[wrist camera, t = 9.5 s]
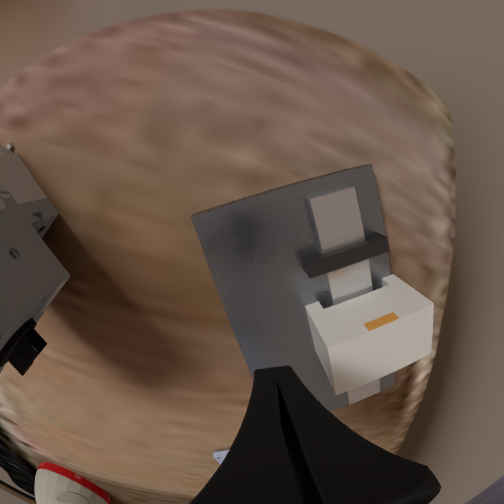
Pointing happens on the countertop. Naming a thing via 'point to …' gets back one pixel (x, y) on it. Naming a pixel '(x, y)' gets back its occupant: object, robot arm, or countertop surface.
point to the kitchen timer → (65, 487)
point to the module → (371, 334)
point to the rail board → (297, 268)
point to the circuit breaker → (24, 262)
